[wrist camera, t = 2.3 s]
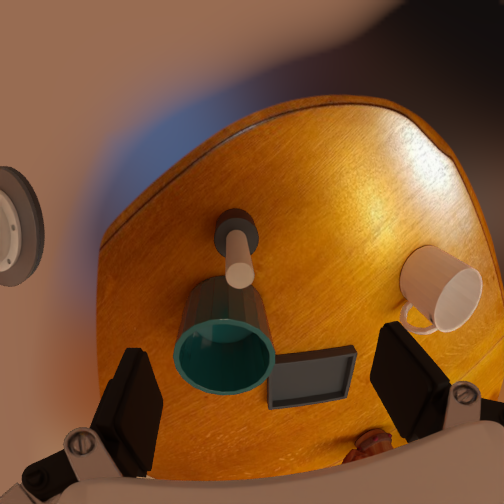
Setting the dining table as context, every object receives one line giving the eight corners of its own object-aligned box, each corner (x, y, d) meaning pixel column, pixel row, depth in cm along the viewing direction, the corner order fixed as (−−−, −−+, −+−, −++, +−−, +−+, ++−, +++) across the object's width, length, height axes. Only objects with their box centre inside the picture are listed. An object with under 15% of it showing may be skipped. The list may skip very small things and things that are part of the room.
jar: (190, 344, 38) (183, 396, 29) (180, 277, 35) (164, 321, 25) (264, 340, 39) (274, 391, 29) (263, 273, 35) (275, 315, 26)
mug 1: (394, 423, 50) (420, 471, 36) (376, 443, 52) (397, 490, 38) (341, 426, 48) (363, 485, 34) (324, 448, 50) (340, 503, 36)
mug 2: (431, 232, 36) (473, 253, 27) (450, 272, 38) (487, 297, 29) (373, 288, 38) (406, 322, 29) (398, 323, 40) (428, 358, 31)
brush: (217, 246, 34) (211, 305, 21) (214, 209, 33) (205, 247, 19) (255, 244, 34) (271, 301, 21) (253, 207, 33) (271, 243, 20)
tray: (267, 401, 43) (268, 410, 41) (266, 355, 40) (268, 364, 38) (343, 390, 44) (346, 398, 42) (352, 344, 41) (357, 352, 39)
